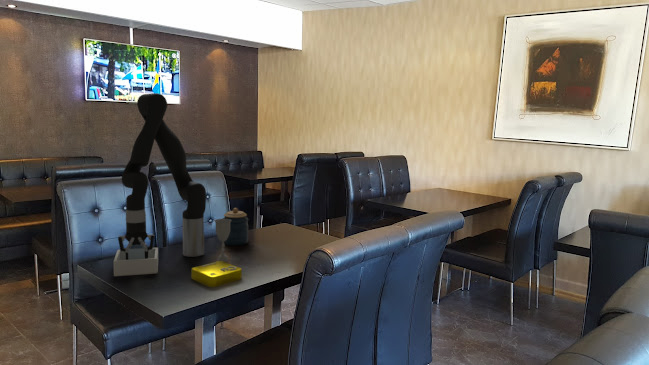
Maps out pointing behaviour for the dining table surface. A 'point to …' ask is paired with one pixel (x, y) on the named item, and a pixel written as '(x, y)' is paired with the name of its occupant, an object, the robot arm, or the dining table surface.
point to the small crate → (136, 252)
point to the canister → (237, 227)
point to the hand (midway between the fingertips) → (137, 259)
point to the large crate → (135, 264)
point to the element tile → (216, 273)
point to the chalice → (223, 235)
